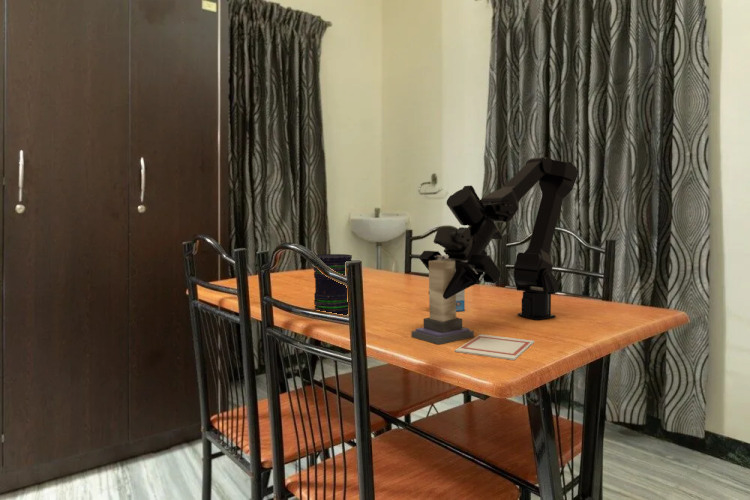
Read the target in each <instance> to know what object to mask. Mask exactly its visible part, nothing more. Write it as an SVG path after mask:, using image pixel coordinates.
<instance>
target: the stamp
mask: <svg viewBox="0 0 750 500" xmlns="http://www.w3.org/2000/svg"><path fill="white" fill-rule="evenodd" d="M454 275H455V261H452V260H434V261H429V270H428V296H429V298H428V299H429V317H425V318H423V327H424V328H425V329H429V330H433V331H437V332H440V333H445V332H450V331H454V330H458V329H462V327H463V318H460V317H457V311H456V294H455V295H453V296H452V297H450V298H448V299H444V297H443V294H444V292H445V290H446V288H447V286H448V285H449V283H450V281H451V280H452V278H453V276H454Z"/></svg>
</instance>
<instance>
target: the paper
mask: <svg viewBox="0 0 750 500" xmlns="http://www.w3.org/2000/svg"><path fill="white" fill-rule="evenodd" d="M534 343H535V340H530V339H522V338H514V337H506V336H497V335H489V334H479V335H477V336H476V337H473V338H472V339H470V340H469V341H468V342H466V343H464V344H463V345H460V346H459V347H458V348H456V349H454V352H455V353H461V354H469V355H475V356H483V357H489V358H495V359H496V358H497V359H503V360H511V361H516V360H517V358H519V357H520V356H521V355H522V354H523V353H525V352H526V351H527V350H528V349H529V348H530V347H531V346H532V345H533V344H534Z"/></svg>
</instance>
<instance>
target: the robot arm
mask: <svg viewBox="0 0 750 500" xmlns="http://www.w3.org/2000/svg"><path fill="white" fill-rule="evenodd" d="M578 173H579V172H578V168H577V167H576V166H575V165H574V164H573V162H571V161H560V160H555V159H552V158H549V157H546V156H539V157H532V158H529V159H527V161H526V163H525V165H524V166H523V167H521V168H520V170H519V171H517V173H515V174H514V175H513V177H511V178H510V179H509V180H508V182H506V183H505V184H504V185H503V186H502V187H501V188H500V189H497V190H494V191H490V192H489V193H488V194H487V195H485V196H483V197H482V198H480V197H479V196H478V194H477V192H476V190H475V188H474V187H473V185H464V186H463V188H462V189H459V190H457V191H456V192H454V193H452V194H451V195H450V196H449V197H448V198H447V200H446V206H447V207H448V209H449V210H450V212H451V213H452V214H453V216H454V218H455V219H456V220H457V222H458V223H459V224H460V225H461V226H462V227H459V228H458V229H457V228H452V227H438V228H437V231H436V233H435V236H434V239H433V243H434V244H435V245H438V246H440V247H442V248H444V249H443V253H444V254H445V255H448V256H449V257H448V258H445V257H444V256H442V255H443V254H441V253H440V252H439V251H438V250H423V251H422V253H421V254H420V256H419V260H420V261H421V263H422V265H424V267H425V268H426V269H427V270H428V271H429V261H434V260H452V261H455V270H456V272H455V275H454V276H453V278H452V280H451V281H450V283H449V285H448V286H447V288H446V290H445V292H444V294H443V297H444V299H448V298H450V297H452V296H453V295H455V294H457V293H459V292H461V291H462V290H464V289H465V290H466V289H468V288H471V287H473V286H475V285H479V284H480V283H481V280H480V278H481V276H482V278H483V281H484V283H489V284H490V283H491V284H496V283H497V281H498V280H499V278H500V276H501V270H500V268H499V267H498V266H497V264H496V262H495V261H494V259H493V258H492V257H491V255H490V254H488V253H487V251H486V249H487V247H488V245H489V244H490V243H491V242H492V240H497V241H498V240H502V238H503V235H502V232H501V227H498V226H497V223H509V222H510V221H512V219H513V218H514V216H515V215H516V213H517V212H518V210H519V207H520V206H519V203H520V201H521V200H522V198H524V196H526V195H527V194H528V193H529V191H531V189H532V188H533V187H535V185H536V184H537V183H538V186H539V189H540V191H541V198H540V203H539V206H538V210H537V213H536V217H535V221H534V226H533V228H532V233H531V236H530V240H529V243H528V247H527V249H526V250H525V251H524V252H520V251H519V252H518V253H517V254H516V258H515V263H514V265H513V266H512V268H513V280H514V282H515V287H516V291H519V292H522V297H521V312H518V313H517V316H520V317H524V318H529V319H532V320H535V321H536V320H538V321H540V320H544V319H551V318H556V314H551V313H552V311H551V310H552V308H551V307H552V295H555V294H558V292H559V287H560V283H559V282H558V280H557V279H556V277H555V276H554V274H553V268H554V267H553V266H554V265H553V262H552V259H551V256H550V250H551V246H552V243H553V238H554V234H555V231H556V227H557V224H558V219H559V215H560V211H561V208H562V204H563V200H564V198H566V197H567V195H569V193H570V192H572V191H573V189H574V186H575V184H576V181H577V178H578ZM463 226H464V227H463ZM466 226H467V227H466Z"/></svg>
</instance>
